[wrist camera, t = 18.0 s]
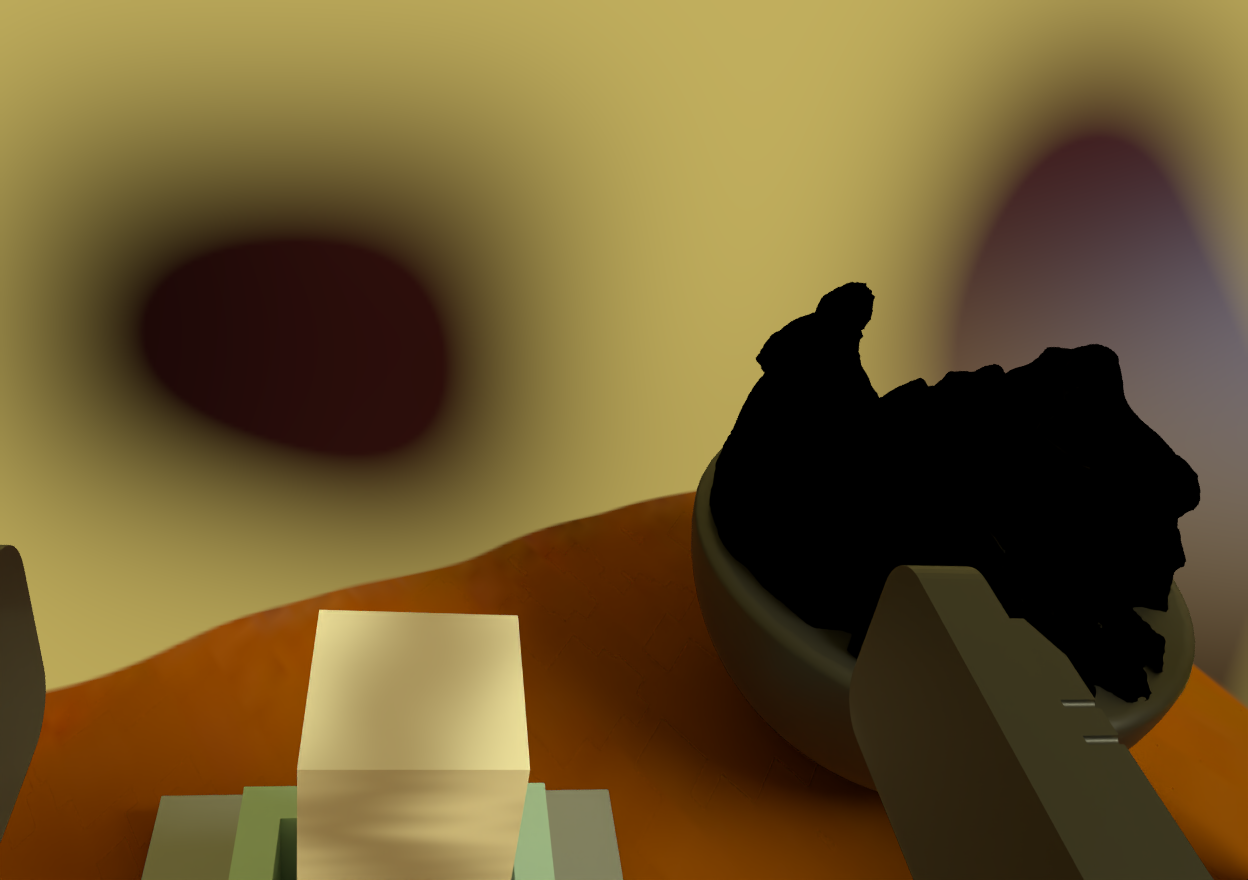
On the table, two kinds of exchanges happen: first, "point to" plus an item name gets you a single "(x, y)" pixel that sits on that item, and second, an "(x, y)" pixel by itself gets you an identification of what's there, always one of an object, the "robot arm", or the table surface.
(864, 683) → the robot arm
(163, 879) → the socket holder
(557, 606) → the table surface
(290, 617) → the table surface
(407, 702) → the square peg
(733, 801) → the table surface
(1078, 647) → the coal bowl
